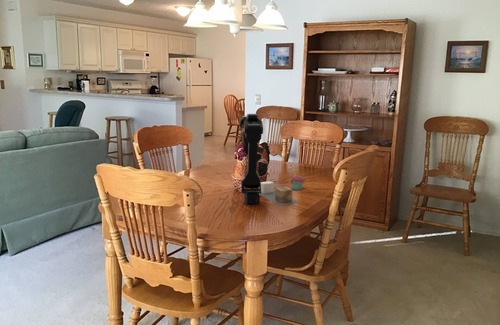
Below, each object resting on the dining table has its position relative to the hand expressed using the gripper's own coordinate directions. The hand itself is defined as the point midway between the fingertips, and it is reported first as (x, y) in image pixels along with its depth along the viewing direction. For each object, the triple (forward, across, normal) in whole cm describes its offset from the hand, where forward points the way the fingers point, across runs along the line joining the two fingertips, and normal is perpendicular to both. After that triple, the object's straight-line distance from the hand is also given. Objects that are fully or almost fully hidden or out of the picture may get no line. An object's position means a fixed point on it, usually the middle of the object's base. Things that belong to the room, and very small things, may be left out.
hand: (248, 170), depth 219 cm
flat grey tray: (+12, -16, -8) cm, 21 cm away
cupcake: (+12, -4, -28) cm, 31 cm away
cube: (+11, -23, -8) cm, 27 cm away
